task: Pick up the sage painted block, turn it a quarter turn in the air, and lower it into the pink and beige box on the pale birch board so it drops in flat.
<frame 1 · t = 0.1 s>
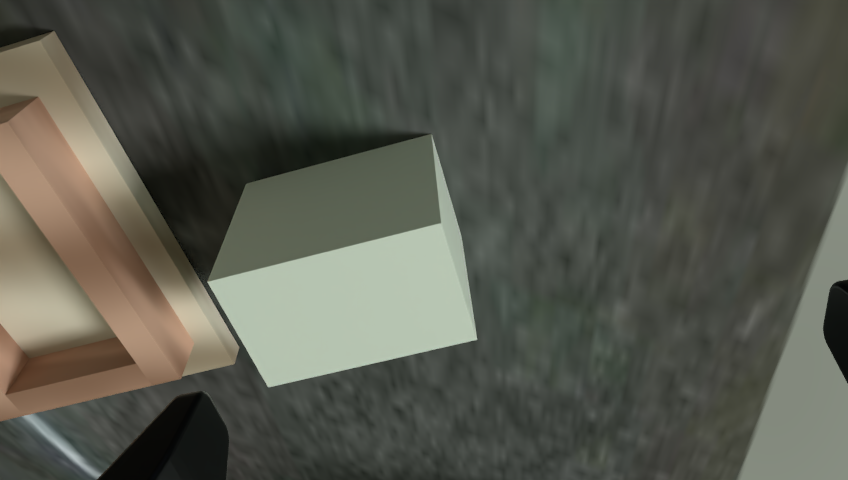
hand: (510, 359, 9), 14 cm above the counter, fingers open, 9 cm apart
sage block: (357, 209, 25), on the counter
pink and beige box: (40, 245, 25), on the counter
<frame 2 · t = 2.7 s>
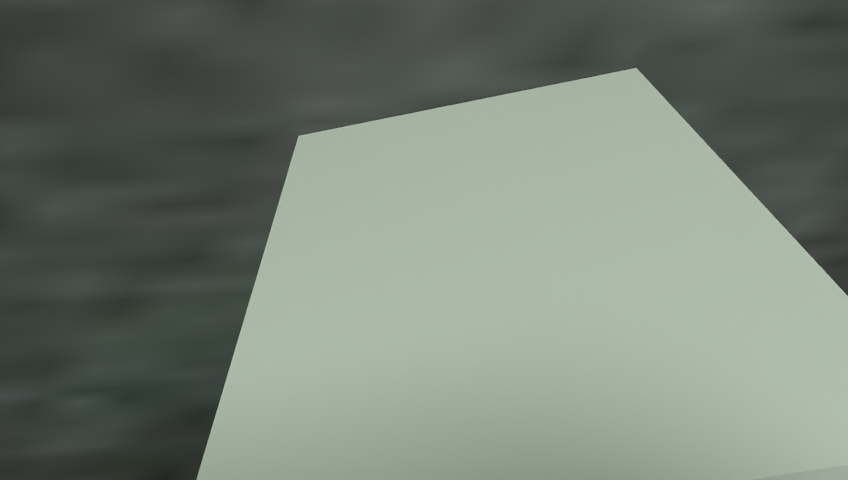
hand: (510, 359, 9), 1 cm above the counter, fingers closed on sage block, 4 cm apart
sage block: (499, 305, 11), on the counter, touching gripper
when the fingers open (3 cm above the counter, at t = 9.0 s): sage block drops 1 cm, resting on pink and beige box.
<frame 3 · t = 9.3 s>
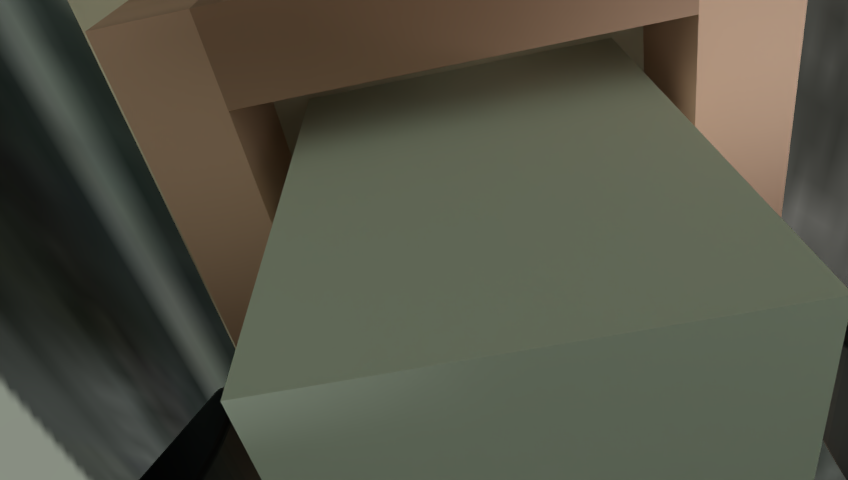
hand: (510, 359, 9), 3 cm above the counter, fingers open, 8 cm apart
sage block: (490, 259, 12), point 1 cm above the counter, touching pink and beige box
pink and beige box: (482, 229, 12), on the counter
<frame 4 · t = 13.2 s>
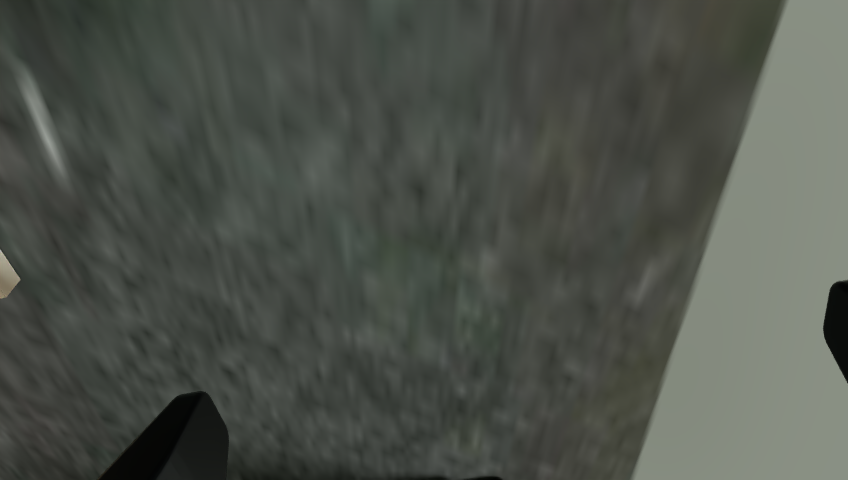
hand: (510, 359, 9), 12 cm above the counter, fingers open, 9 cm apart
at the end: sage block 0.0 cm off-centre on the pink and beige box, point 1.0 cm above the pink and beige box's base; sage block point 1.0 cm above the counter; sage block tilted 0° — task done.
